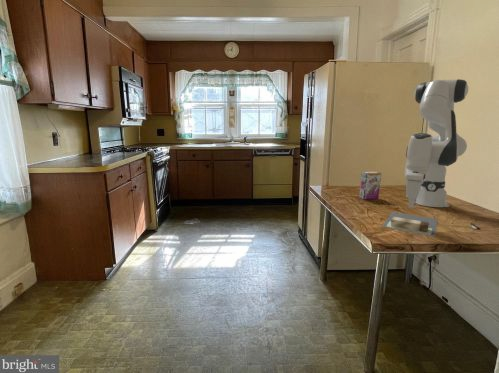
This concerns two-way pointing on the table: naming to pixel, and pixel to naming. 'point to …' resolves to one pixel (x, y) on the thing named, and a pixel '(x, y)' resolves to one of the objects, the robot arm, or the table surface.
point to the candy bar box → (370, 185)
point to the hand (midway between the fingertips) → (412, 204)
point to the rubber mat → (431, 221)
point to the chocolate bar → (474, 226)
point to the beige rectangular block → (410, 224)
